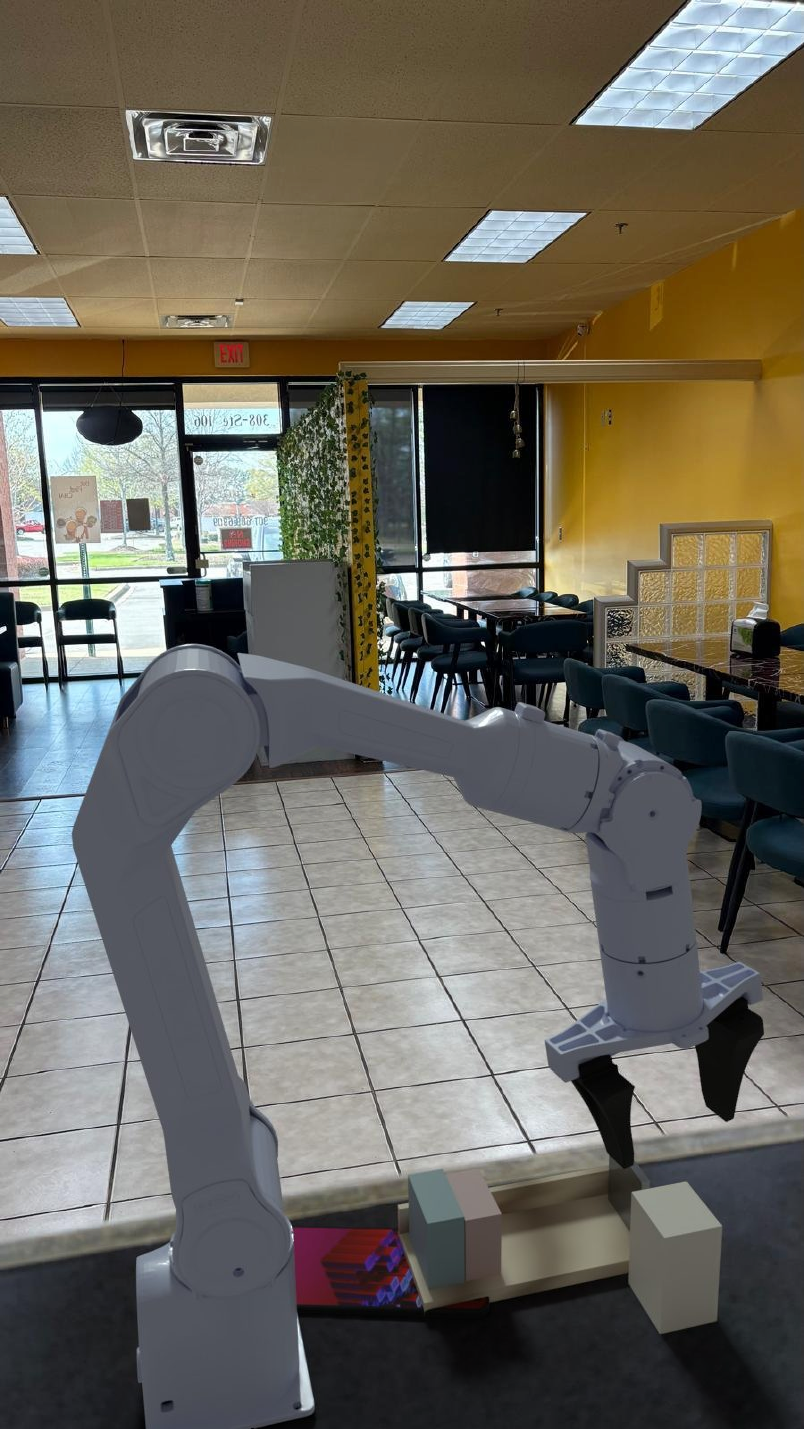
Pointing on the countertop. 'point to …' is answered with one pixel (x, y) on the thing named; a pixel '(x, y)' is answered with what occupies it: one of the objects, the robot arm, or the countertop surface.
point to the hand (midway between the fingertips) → (670, 1134)
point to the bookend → (625, 1187)
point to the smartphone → (362, 1275)
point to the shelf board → (541, 1239)
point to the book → (674, 1256)
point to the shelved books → (454, 1227)
